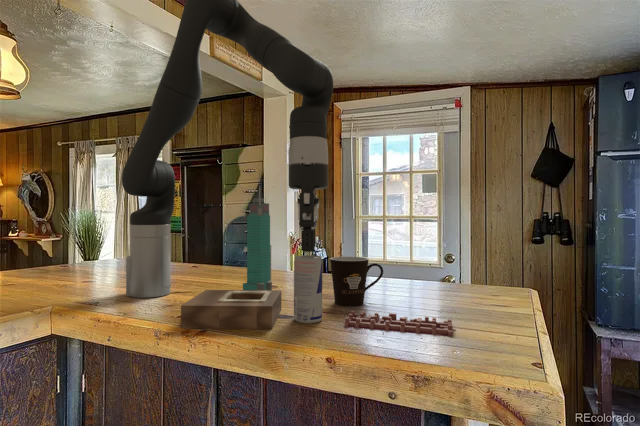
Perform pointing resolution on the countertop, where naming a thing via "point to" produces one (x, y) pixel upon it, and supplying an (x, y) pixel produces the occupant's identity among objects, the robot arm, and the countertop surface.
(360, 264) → the coffee mug
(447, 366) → the countertop surface
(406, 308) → the countertop surface
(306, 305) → the energy drink
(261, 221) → the building
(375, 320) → the chocolate bar
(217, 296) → the holder board
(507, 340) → the countertop surface
